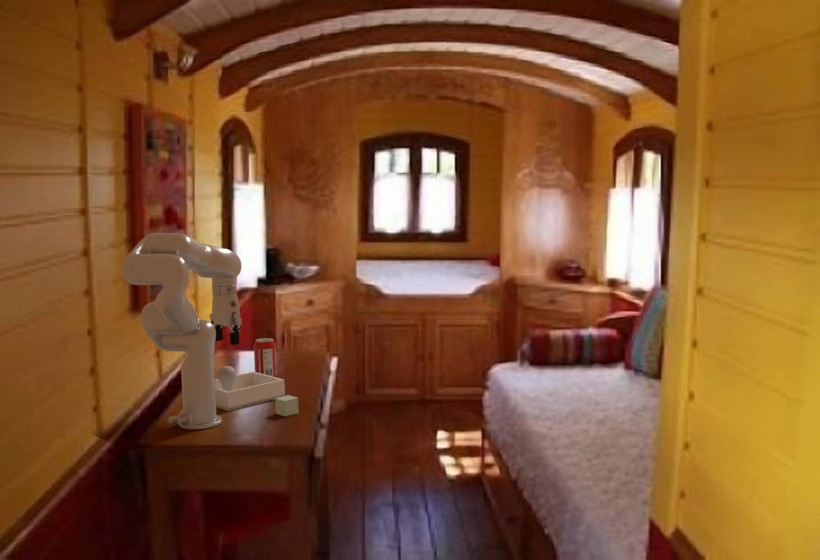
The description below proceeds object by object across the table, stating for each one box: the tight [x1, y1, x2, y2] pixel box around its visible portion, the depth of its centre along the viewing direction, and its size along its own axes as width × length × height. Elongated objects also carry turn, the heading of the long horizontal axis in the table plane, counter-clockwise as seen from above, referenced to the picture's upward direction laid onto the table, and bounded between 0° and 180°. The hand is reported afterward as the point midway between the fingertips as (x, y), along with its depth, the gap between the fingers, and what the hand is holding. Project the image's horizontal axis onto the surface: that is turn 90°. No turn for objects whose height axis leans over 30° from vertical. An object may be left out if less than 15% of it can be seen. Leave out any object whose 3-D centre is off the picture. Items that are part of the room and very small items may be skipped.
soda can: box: [253, 337, 278, 378], centre depth 289 cm, size 8×8×15 cm
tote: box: [215, 371, 286, 412], centre depth 263 cm, size 22×18×6 cm
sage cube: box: [274, 394, 300, 417], centre depth 246 cm, size 5×5×5 cm
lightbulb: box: [216, 365, 237, 391], centre depth 260 cm, size 6×6×11 cm
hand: (226, 342), depth 258 cm, fingers open, 9 cm apart
